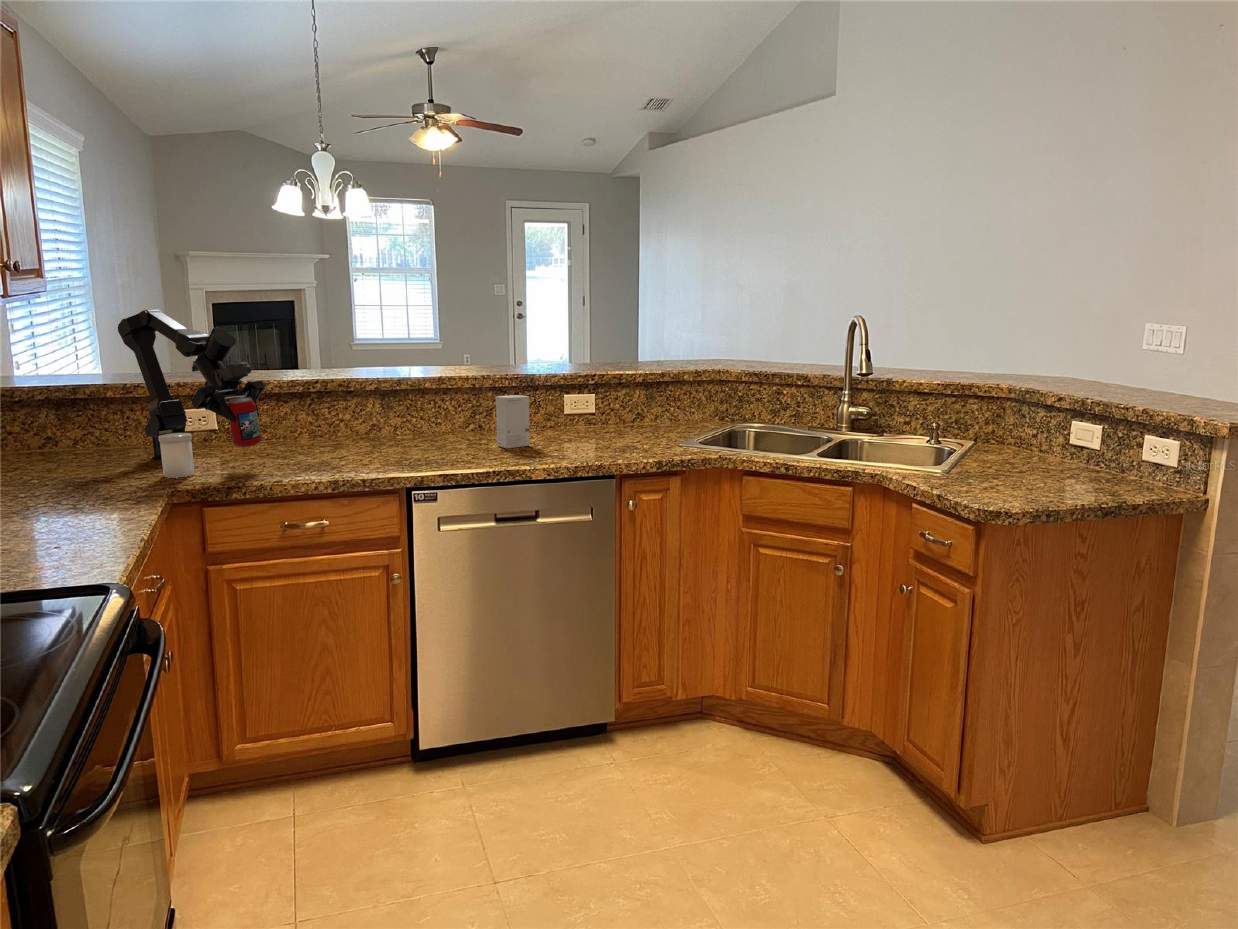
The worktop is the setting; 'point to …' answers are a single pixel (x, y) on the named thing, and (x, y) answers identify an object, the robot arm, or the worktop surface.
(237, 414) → the beverage can
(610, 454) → the worktop surface
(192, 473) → the sugar jar
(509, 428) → the skincare box
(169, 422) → the robot arm
